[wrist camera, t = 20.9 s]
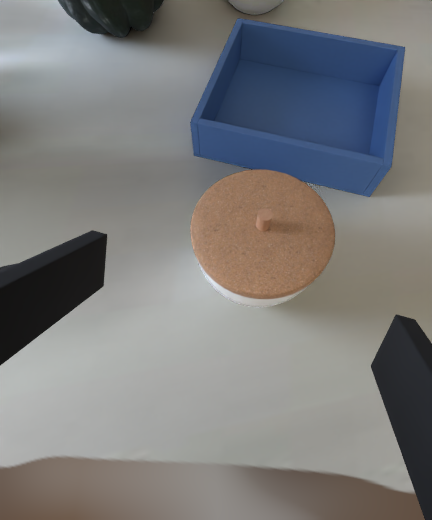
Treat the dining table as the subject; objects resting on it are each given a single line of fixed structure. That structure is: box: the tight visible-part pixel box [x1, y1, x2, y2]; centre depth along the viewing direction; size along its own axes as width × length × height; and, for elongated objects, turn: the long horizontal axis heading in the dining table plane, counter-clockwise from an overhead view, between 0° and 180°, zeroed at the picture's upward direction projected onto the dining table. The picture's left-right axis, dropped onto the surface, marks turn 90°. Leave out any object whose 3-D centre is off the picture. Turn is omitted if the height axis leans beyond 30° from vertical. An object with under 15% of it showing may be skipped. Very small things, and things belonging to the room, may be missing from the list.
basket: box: [190, 18, 405, 197], centre depth 36 cm, size 20×18×5 cm
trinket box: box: [190, 169, 335, 307], centre depth 27 cm, size 11×11×9 cm
